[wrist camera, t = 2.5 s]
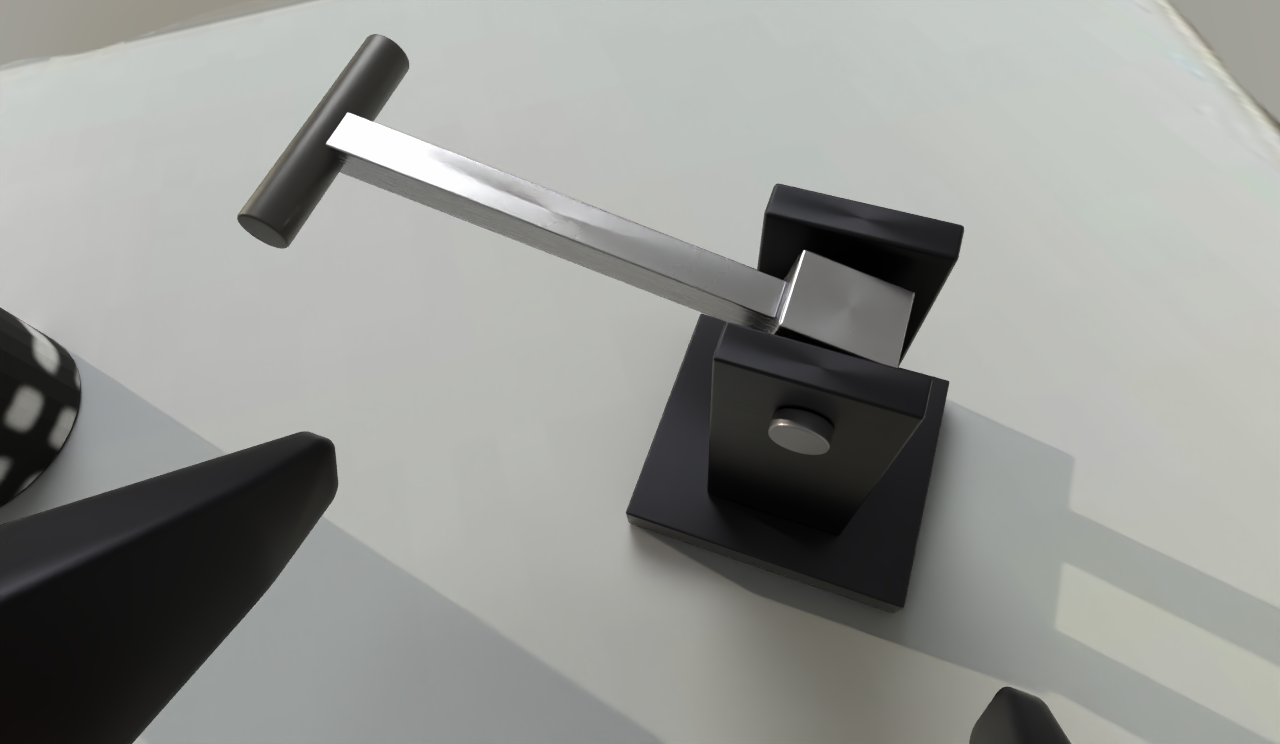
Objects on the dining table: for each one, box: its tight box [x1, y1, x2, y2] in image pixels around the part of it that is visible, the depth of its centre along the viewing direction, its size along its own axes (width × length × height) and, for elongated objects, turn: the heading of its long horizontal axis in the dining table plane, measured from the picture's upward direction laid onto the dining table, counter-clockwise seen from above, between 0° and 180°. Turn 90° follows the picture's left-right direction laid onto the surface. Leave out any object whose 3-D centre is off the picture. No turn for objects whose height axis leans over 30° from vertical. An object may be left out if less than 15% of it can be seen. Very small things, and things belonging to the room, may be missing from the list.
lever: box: [237, 34, 915, 368], centre depth 18 cm, size 15×6×2 cm, turn 70°
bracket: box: [626, 184, 964, 613], centre depth 21 cm, size 9×8×11 cm
